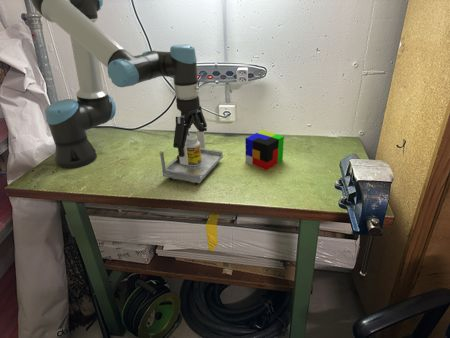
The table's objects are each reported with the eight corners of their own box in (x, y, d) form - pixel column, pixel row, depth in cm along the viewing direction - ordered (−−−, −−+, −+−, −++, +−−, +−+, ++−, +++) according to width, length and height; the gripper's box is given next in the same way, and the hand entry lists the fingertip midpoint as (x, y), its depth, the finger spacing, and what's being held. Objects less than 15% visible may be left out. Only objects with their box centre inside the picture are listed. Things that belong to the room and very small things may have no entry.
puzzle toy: (245, 162, 115) (245, 138, 110) (261, 153, 121) (261, 130, 117) (267, 170, 109) (267, 145, 104) (282, 160, 115) (283, 136, 110)
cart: (163, 180, 105) (159, 152, 100) (190, 156, 121) (188, 130, 116) (199, 187, 100) (197, 158, 95) (222, 161, 116) (221, 134, 111)
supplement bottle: (187, 168, 106) (184, 141, 101) (185, 161, 111) (182, 135, 106) (202, 165, 107) (200, 139, 102) (200, 159, 112) (198, 133, 107)
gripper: (178, 109, 86) (185, 173, 96) (213, 87, 106) (216, 143, 116) (156, 107, 89) (165, 170, 99) (194, 86, 109) (199, 140, 119)
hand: (193, 155), depth 108 cm, fingers open, 13 cm apart
